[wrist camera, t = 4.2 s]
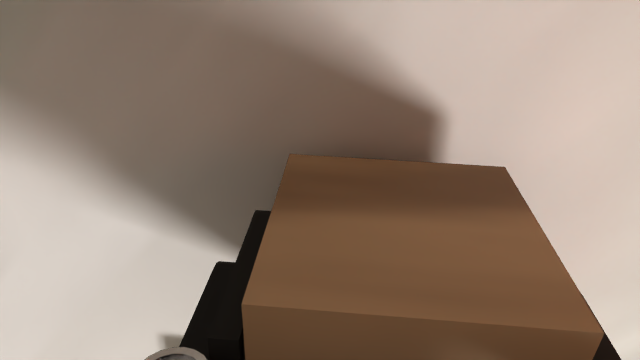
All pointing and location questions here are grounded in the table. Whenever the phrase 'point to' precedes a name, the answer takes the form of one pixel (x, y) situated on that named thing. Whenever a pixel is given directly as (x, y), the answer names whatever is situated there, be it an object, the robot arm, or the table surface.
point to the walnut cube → (409, 268)
